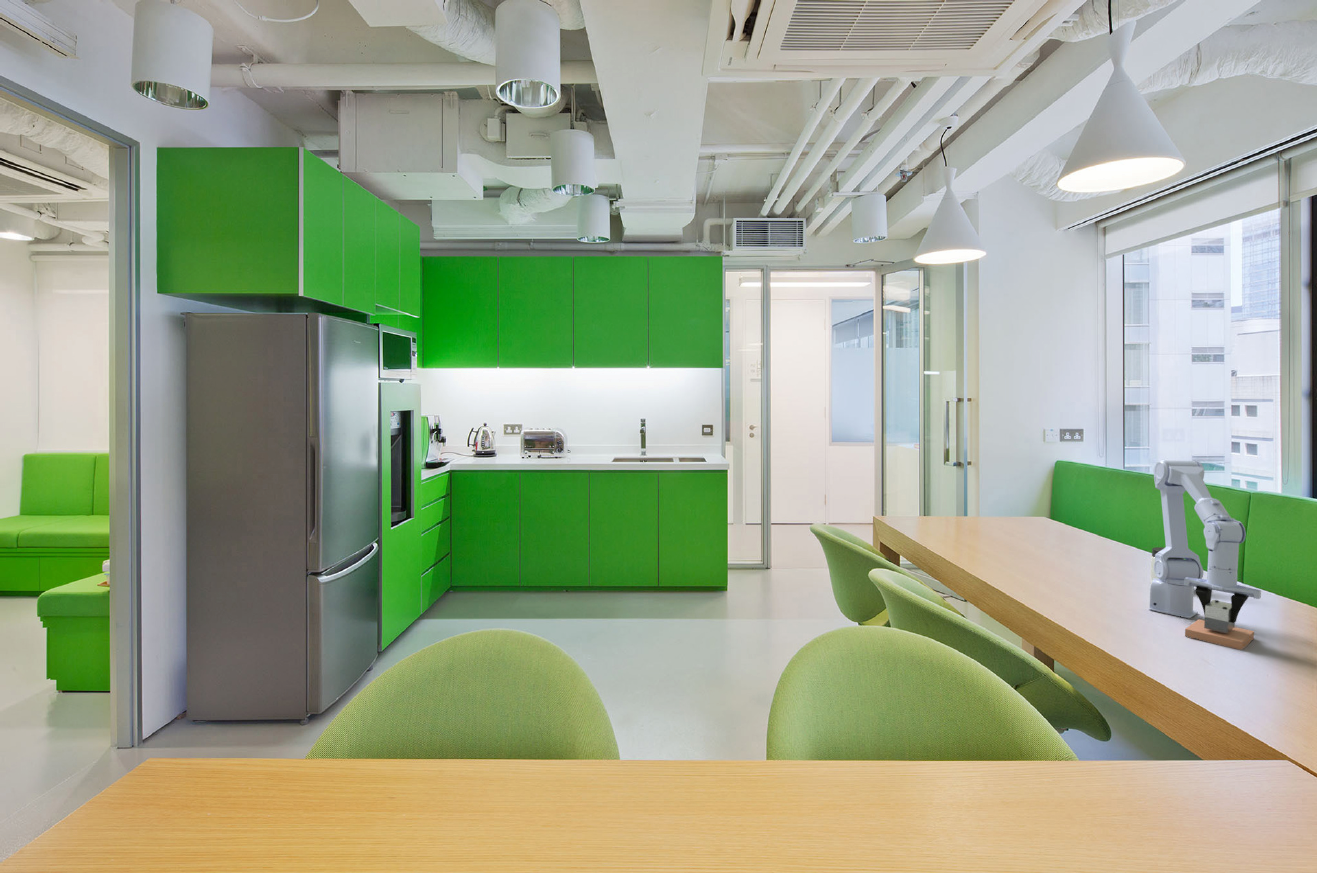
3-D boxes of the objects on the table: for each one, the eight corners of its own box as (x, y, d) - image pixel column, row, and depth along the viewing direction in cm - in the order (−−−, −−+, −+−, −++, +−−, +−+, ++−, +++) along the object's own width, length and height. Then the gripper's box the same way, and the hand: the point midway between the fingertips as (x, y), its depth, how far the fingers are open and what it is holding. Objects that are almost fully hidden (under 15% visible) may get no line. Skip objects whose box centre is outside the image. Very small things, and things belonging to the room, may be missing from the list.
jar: (1156, 588, 202) (1157, 552, 202) (1144, 581, 210) (1146, 546, 209) (1189, 590, 200) (1190, 553, 199) (1176, 583, 207) (1178, 548, 207)
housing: (1211, 622, 164) (1213, 598, 163) (1234, 627, 160) (1235, 603, 160) (1204, 628, 160) (1205, 604, 159) (1227, 633, 156) (1228, 609, 156)
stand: (1184, 636, 161) (1185, 629, 161) (1198, 626, 168) (1198, 619, 168) (1242, 650, 152) (1242, 642, 152) (1253, 638, 159) (1254, 631, 159)
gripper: (1181, 563, 163) (1179, 614, 163) (1257, 576, 151) (1254, 630, 152) (1189, 559, 167) (1187, 609, 168) (1264, 571, 155) (1261, 624, 156)
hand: (1220, 619), depth 160 cm, fingers closed on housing, 4 cm apart
